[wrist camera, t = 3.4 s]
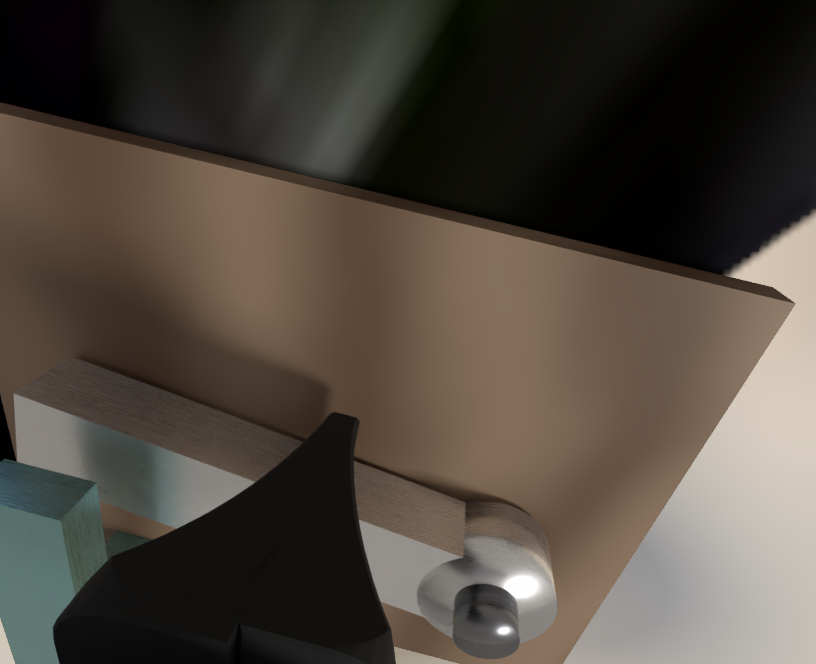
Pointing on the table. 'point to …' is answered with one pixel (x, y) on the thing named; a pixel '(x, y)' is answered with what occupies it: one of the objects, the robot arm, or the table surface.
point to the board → (378, 337)
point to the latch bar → (258, 454)
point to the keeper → (47, 552)
